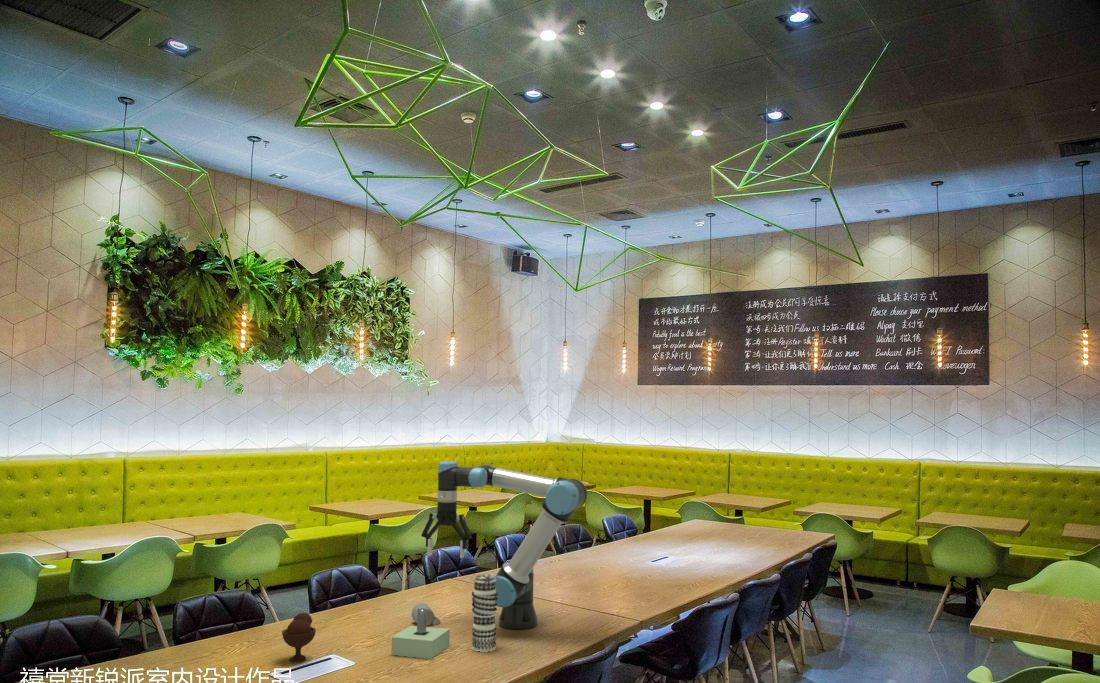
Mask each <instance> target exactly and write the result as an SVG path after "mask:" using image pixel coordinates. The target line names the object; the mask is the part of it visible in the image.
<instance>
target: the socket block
mask: <svg viewBox="0 0 1100 683" xmlns="http://www.w3.org/2000/svg"><path fill="white" fill-rule="evenodd" d="M450 630H451V629H450V628H442V627H441V628H440V627H431V626H426V635H417V625H410V626H408V627H407V628H405V629H403V630H401V631H400V632H398V633H397V634H394V635H393V636H392V637H391V651H390V652H391V654H390V655H391V656H394V655H399V656H398V657H404V656H407V657H406V658H413V657H416V659H423V658H424V659H425V660H433V659H434V658H435V656H438V654H440V653H441V652H443V651H444V650H445V649H446V648H449V646H450V640H451V638H450V633H451V631H450ZM424 659H423V660H424Z"/></svg>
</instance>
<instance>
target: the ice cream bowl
mask: <svg viewBox="0 0 1100 683" xmlns="http://www.w3.org/2000/svg"><path fill="white" fill-rule="evenodd" d="M312 622H313V618H312V616H311V615H310V614H309V613H307V612H299V613H297V614H296V615H295V616H294V617H293V620H292V621H290V623H289V625H288V626H287V628H285V629H283V630H281V635H282V639H283V640H284V641H283V642H285V643H286V644H287V646H289V647H292V648H293V649H295V654H294V655H293V656H291V657H289V662H291V663H302V662H303V663H304V662H305V661H306V660H307V658H306V656H305V655H303V654H302V648H303V647H305V646H307V645H308V644H310V643H311V642H312V641H313V640H314V638H315V636H316V631H317V630H316V628H315V627H313V626H311V625H312Z"/></svg>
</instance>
